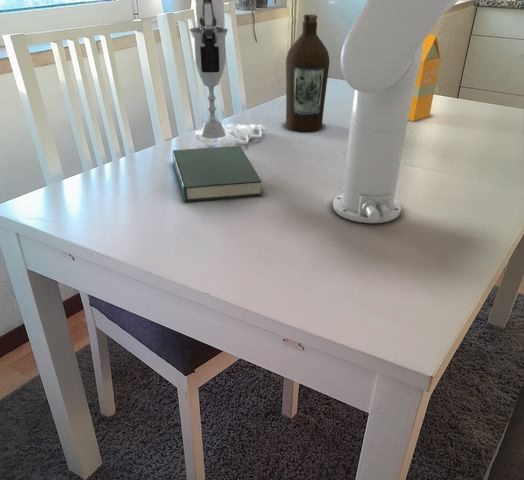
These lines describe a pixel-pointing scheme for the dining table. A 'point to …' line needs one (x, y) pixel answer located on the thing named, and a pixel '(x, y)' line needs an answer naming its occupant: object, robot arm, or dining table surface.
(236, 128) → the tangled rod sculpture
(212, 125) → the chalice
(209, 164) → the book
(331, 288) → the dining table surface
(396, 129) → the robot arm
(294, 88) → the olive oil
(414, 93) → the orange juice
